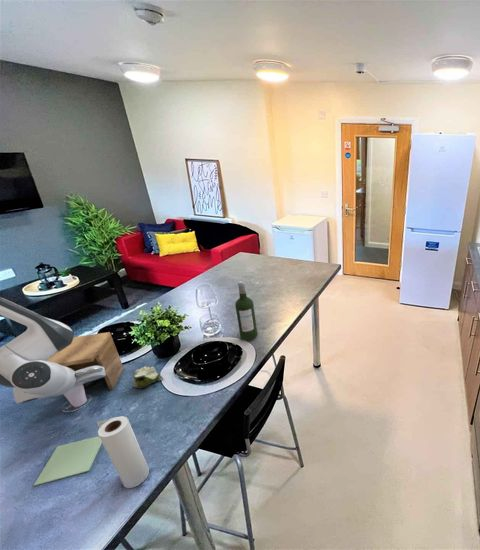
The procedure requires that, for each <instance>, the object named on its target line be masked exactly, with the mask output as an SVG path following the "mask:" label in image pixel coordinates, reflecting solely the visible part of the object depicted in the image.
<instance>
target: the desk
mask: <svg viewBox="0 0 480 550" xmlns="http://www.w3.org/2000/svg"><path fill="white" fill-rule="evenodd" d="M46 361H50V362H54V363H57V364H60V365H62V366H65V367H68V368H71V369H72V370H74V371H77V370H81V369H84V368H87V367H91V366H103V367H104V368H105V373H106V376H105V377H103V379H104V380H105V382H106V385H107V387H108V389H109V391H112V390H114V389H115V387H116V384H117V383H118V381H119V379H120V377H121V375H122V373H123V371H124V369H125V368H124V365H123V363H122V360H121V357H120V355H119V352H118V350H117V347H116V345H115V341H114V340H113V337H112V334H111V332H110V331H108V332H100V333H94V334H85V335H79V336H73V340H72V343H71V344H70V345H69V346H67V347H66V348H64V349H63V350H61V351H59V352H57V353H56V354H54V355H53V356H52V357H50V358H49V359H48V360H46ZM64 398H65V399H66V400H67V398H66V397H65V396H64Z"/></svg>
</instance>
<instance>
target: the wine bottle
mask: <svg viewBox="0 0 480 550" xmlns="http://www.w3.org/2000/svg"><path fill="white" fill-rule="evenodd" d="M245 284H246V283H245V282H244V281H243V280H240V281H238V282H237V287H238V293H239V298H237V300H236V301H235V303H234V306H235V307H234V308H235V312H236V318H237V322H238V330H239V337H240V339H241V340H243V341H252V340H255V338H257V336H258V327H257V320H256V314H255V313H256V312H255V307H254V301H253V299H252V298H251V297H248V296H247V295H248V294H247V290H246V285H245Z"/></svg>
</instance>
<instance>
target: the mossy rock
mask: <svg viewBox="0 0 480 550" xmlns="http://www.w3.org/2000/svg"><path fill="white" fill-rule="evenodd" d="M162 380H164V377H162V376H161V375H160V374H159V372H157V370H156V368H155V366H151V367H149V366H142V367H140V368H139V369H136V370H134V371H133V381H132V383H133V387H134V388H137V389H143V388H147V387H148V386H150V385H152V384H153V383H155V382H159V381H162Z"/></svg>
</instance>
